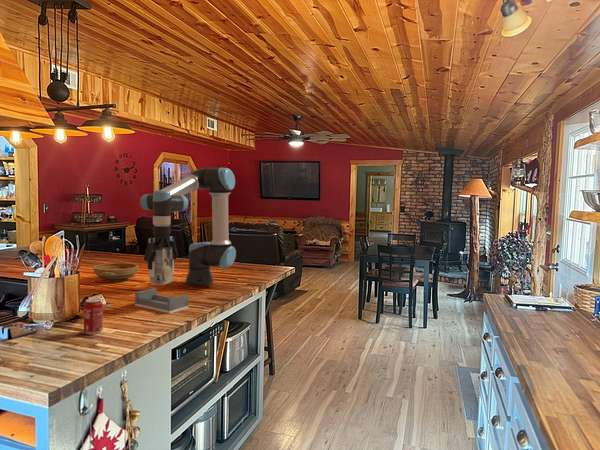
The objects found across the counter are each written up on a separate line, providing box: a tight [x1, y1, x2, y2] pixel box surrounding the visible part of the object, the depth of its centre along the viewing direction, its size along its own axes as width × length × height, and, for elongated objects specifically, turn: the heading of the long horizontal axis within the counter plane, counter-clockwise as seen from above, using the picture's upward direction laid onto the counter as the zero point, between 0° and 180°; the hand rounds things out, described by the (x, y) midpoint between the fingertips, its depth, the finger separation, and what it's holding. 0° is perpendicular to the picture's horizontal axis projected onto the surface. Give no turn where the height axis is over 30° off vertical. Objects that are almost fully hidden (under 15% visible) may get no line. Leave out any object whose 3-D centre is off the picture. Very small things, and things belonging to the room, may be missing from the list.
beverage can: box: [83, 298, 104, 335], centre depth 161 cm, size 6×6×12 cm
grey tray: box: [134, 287, 190, 314], centre depth 197 cm, size 11×22×6 cm, turn 60°
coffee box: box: [149, 246, 174, 286], centre depth 196 cm, size 9×6×16 cm
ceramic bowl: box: [92, 262, 140, 283], centre depth 252 cm, size 30×24×8 cm
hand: (161, 274), depth 196 cm, fingers closed on coffee box, 10 cm apart
